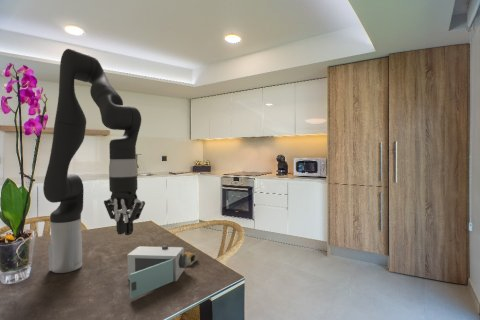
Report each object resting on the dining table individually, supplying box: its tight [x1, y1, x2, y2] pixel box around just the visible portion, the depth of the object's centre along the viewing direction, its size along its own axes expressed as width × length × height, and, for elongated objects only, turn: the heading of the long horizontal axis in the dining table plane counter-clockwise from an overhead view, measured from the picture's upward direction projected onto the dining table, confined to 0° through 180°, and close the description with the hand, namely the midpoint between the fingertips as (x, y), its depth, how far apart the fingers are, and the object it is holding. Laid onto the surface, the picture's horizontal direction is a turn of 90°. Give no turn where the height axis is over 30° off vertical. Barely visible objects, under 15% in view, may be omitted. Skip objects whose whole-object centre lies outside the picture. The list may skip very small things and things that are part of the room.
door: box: [129, 258, 177, 300], centre depth 84 cm, size 15×1×7 cm, turn 139°
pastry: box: [184, 251, 198, 267], centre depth 106 cm, size 9×7×4 cm
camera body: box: [126, 244, 188, 282], centre depth 95 cm, size 18×8×9 cm, turn 84°
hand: (124, 233), depth 83 cm, fingers closed
